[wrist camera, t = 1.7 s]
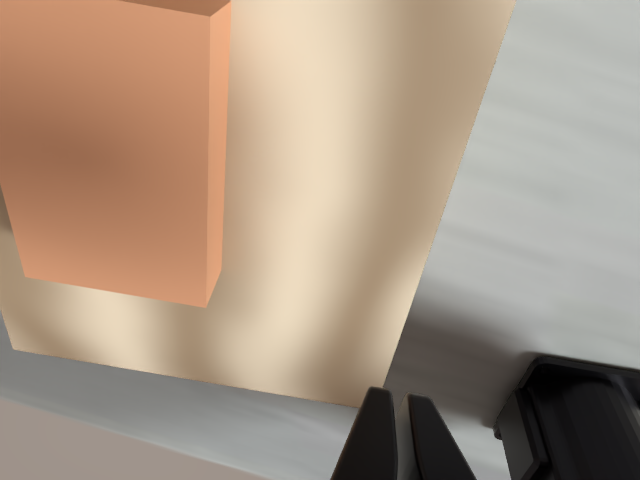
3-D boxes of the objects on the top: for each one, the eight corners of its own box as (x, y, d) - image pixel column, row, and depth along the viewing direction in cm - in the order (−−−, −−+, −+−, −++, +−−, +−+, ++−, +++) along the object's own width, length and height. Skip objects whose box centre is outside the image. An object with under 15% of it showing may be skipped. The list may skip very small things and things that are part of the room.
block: (231, 0, 13) (210, 16, 11) (221, 269, 18) (206, 307, 16) (-1, -41, 13) (-57, -31, 11) (57, 241, 18) (25, 276, 16)
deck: (559, -264, 12) (627, -320, 9) (374, 343, 25) (374, 410, 22) (-83, -382, 12) (-253, -483, 9) (60, 289, 25) (13, 349, 22)
